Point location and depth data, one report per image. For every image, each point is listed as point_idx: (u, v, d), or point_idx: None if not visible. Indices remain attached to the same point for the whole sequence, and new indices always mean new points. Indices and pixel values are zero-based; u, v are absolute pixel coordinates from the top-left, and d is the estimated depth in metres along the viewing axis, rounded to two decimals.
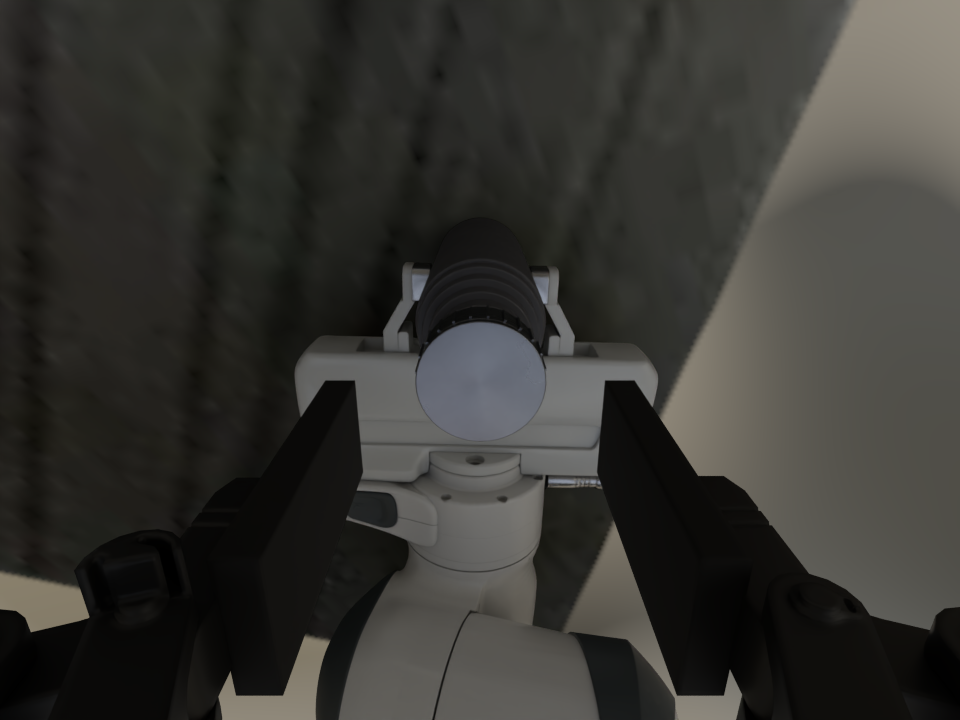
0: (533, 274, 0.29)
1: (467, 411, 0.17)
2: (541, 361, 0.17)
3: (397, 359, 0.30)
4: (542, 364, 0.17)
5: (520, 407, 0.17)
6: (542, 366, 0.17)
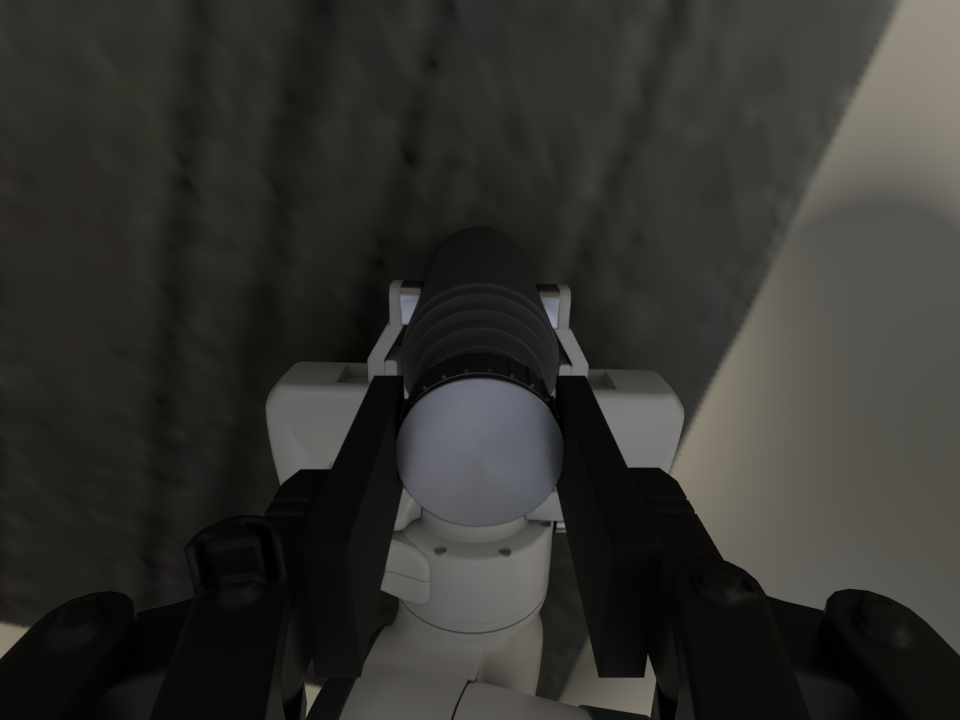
0: (541, 295, 0.25)
1: (462, 489, 0.13)
2: (559, 428, 0.13)
3: None
4: (560, 431, 0.13)
5: (531, 485, 0.13)
6: (560, 434, 0.13)
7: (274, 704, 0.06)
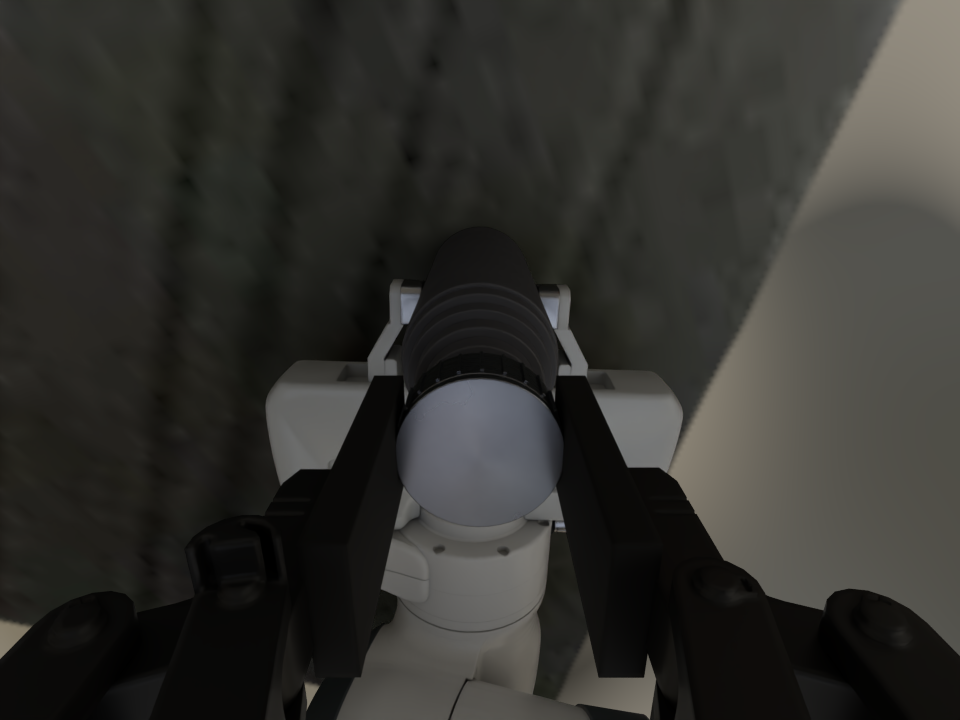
0: (541, 295, 0.25)
1: (519, 469, 0.13)
2: (440, 387, 0.12)
3: None
4: (443, 386, 0.12)
5: (510, 407, 0.13)
6: (445, 387, 0.12)
7: (274, 704, 0.06)
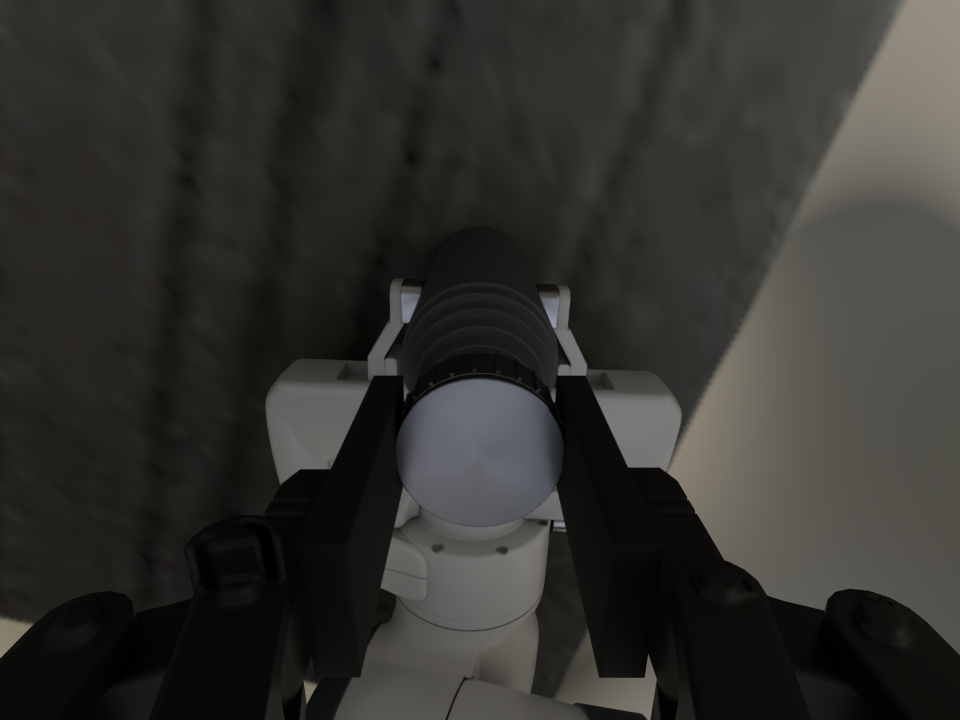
0: (541, 295, 0.25)
1: (490, 420, 0.13)
2: (410, 493, 0.13)
3: None
4: (408, 491, 0.13)
5: (421, 435, 0.13)
6: (407, 490, 0.13)
7: (273, 704, 0.06)
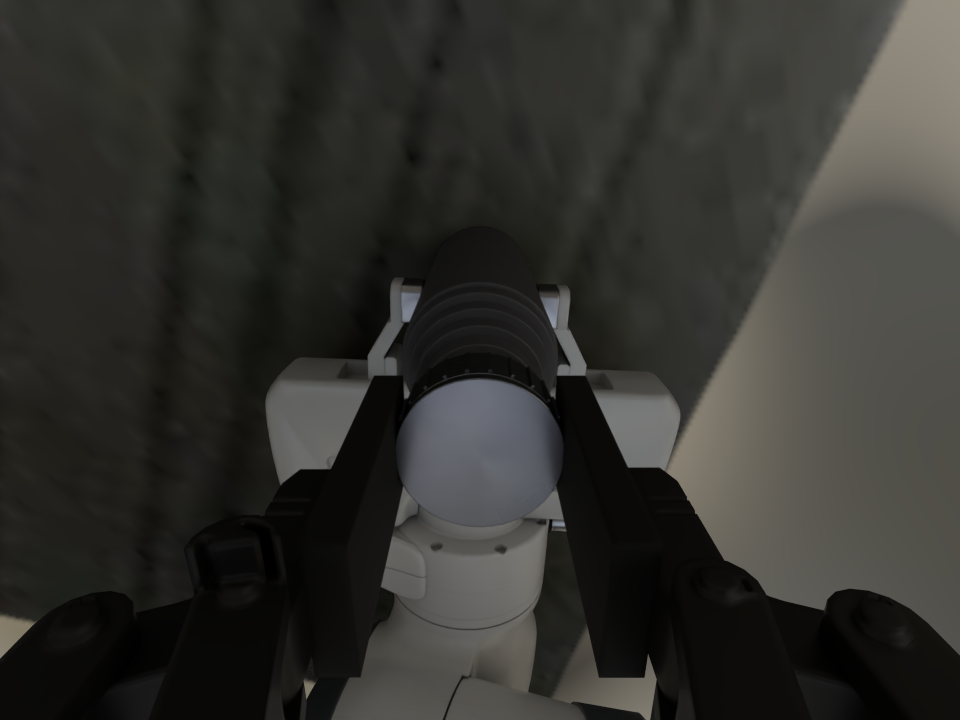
0: (541, 295, 0.25)
1: (437, 450, 0.13)
2: (527, 512, 0.14)
3: None
4: (524, 515, 0.14)
5: (461, 506, 0.14)
6: (522, 516, 0.14)
7: (274, 704, 0.06)
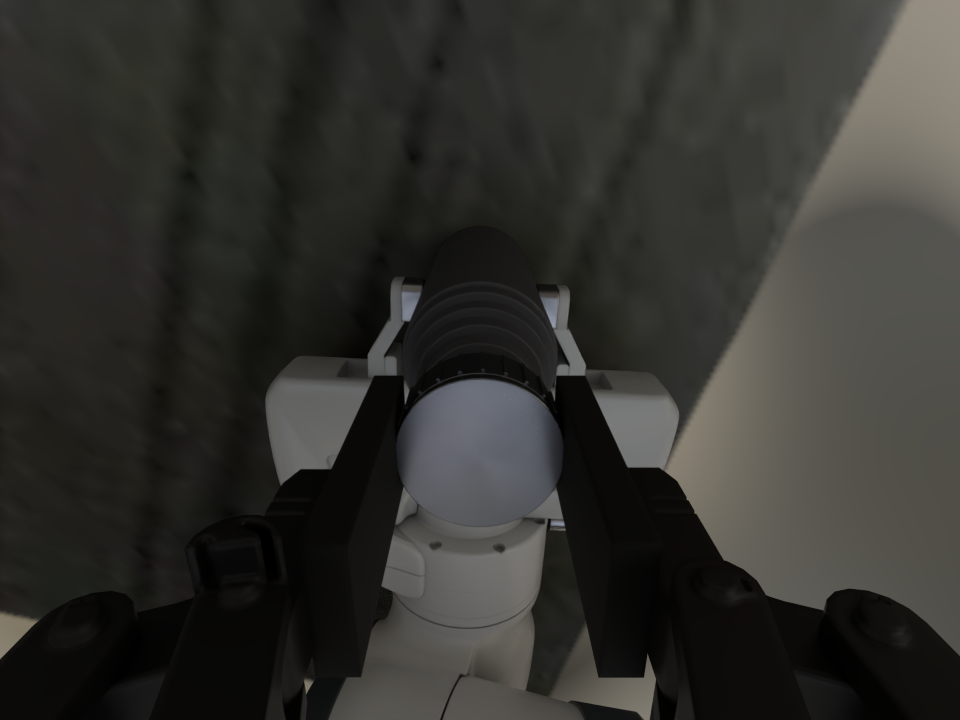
0: (541, 295, 0.25)
1: (476, 493, 0.13)
2: (545, 406, 0.13)
3: None
4: (548, 410, 0.13)
5: (540, 469, 0.13)
6: (548, 412, 0.13)
7: (274, 704, 0.06)
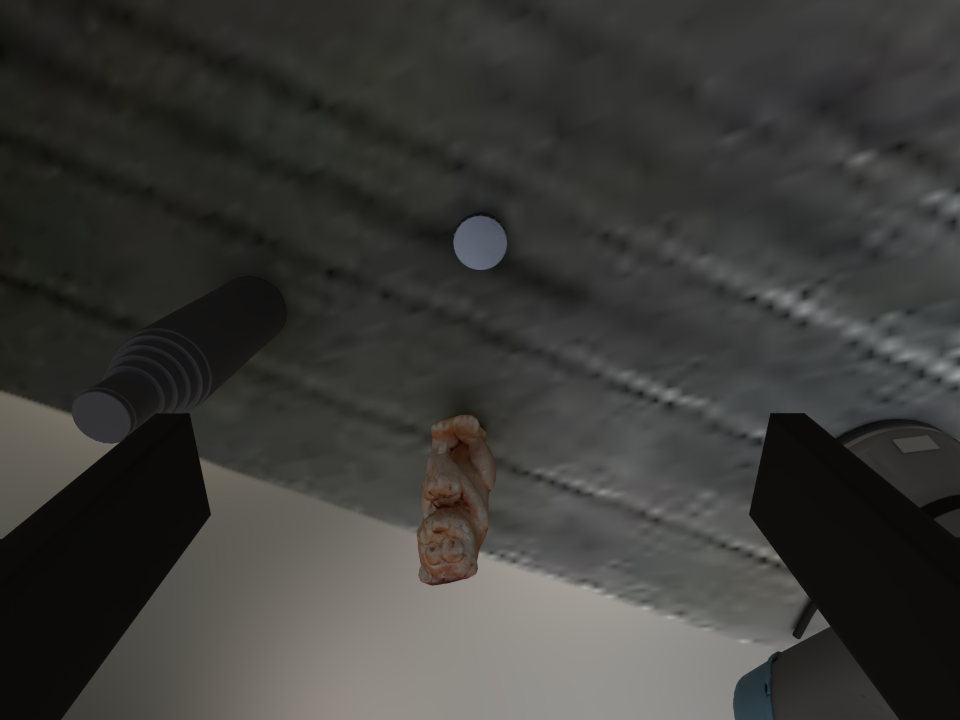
0: None
1: (479, 256, 0.42)
2: (500, 225, 0.41)
3: None
4: (501, 226, 0.41)
5: (499, 247, 0.42)
6: (501, 227, 0.41)
7: None
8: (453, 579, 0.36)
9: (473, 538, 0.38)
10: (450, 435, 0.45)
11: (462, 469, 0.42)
